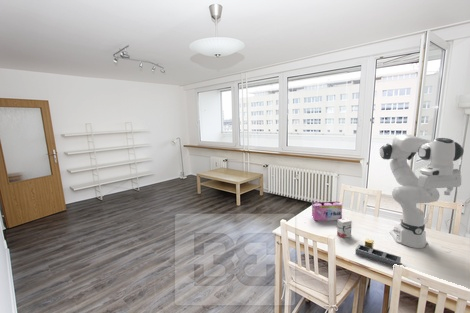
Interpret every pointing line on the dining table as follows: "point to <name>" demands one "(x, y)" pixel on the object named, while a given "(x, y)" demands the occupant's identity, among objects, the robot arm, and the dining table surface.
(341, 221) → the ink box
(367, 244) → the brushed brass bar
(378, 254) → the grey compartment tray
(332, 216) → the gum box
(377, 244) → the dining table surface
